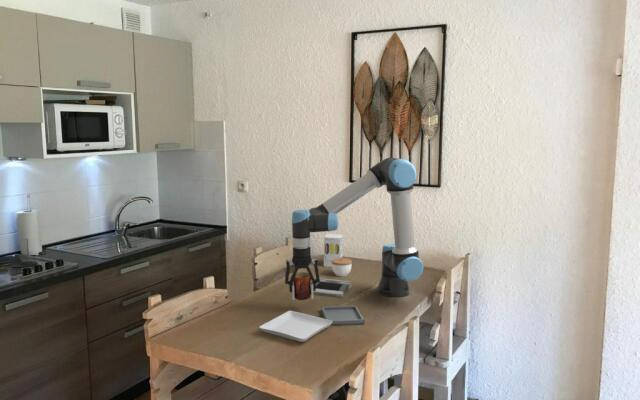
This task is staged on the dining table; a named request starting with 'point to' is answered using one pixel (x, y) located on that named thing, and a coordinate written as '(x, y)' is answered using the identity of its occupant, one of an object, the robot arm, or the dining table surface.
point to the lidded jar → (341, 266)
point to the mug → (302, 286)
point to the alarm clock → (331, 287)
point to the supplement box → (332, 248)
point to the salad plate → (295, 326)
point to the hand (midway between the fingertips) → (302, 298)
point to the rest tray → (343, 315)
